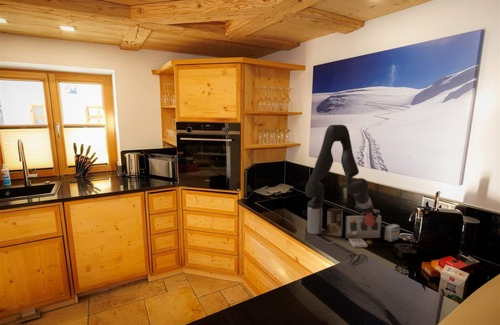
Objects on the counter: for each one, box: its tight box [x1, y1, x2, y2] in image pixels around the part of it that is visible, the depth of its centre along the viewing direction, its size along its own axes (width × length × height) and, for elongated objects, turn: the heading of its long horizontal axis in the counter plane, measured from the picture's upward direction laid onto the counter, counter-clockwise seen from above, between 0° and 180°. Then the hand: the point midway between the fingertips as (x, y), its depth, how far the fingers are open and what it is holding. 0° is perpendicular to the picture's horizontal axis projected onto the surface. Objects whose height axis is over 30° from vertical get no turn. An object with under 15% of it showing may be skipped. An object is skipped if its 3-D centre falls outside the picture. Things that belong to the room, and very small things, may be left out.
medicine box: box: [384, 223, 401, 243], centre depth 161 cm, size 8×4×9 cm, turn 117°
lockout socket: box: [348, 238, 368, 248], centre depth 156 cm, size 8×8×2 cm
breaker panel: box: [344, 214, 382, 240], centre depth 163 cm, size 4×21×14 cm, turn 91°
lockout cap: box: [365, 207, 376, 226], centre depth 155 cm, size 5×5×10 cm
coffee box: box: [326, 207, 344, 237], centre depth 170 cm, size 9×6×16 cm
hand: (370, 217), depth 156 cm, fingers closed on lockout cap, 4 cm apart
